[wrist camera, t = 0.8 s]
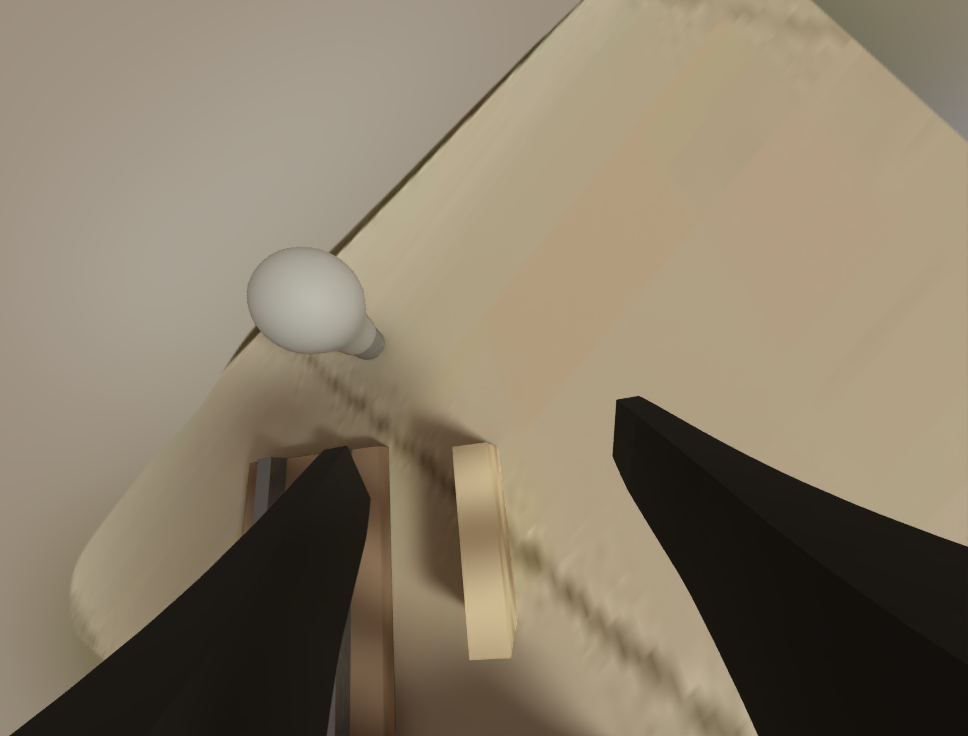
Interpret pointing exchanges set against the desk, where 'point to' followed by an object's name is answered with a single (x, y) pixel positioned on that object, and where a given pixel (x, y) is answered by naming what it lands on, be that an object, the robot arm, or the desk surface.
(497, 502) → the wooden block
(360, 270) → the desk surface
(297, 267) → the lightbulb
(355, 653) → the track board
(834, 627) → the robot arm
